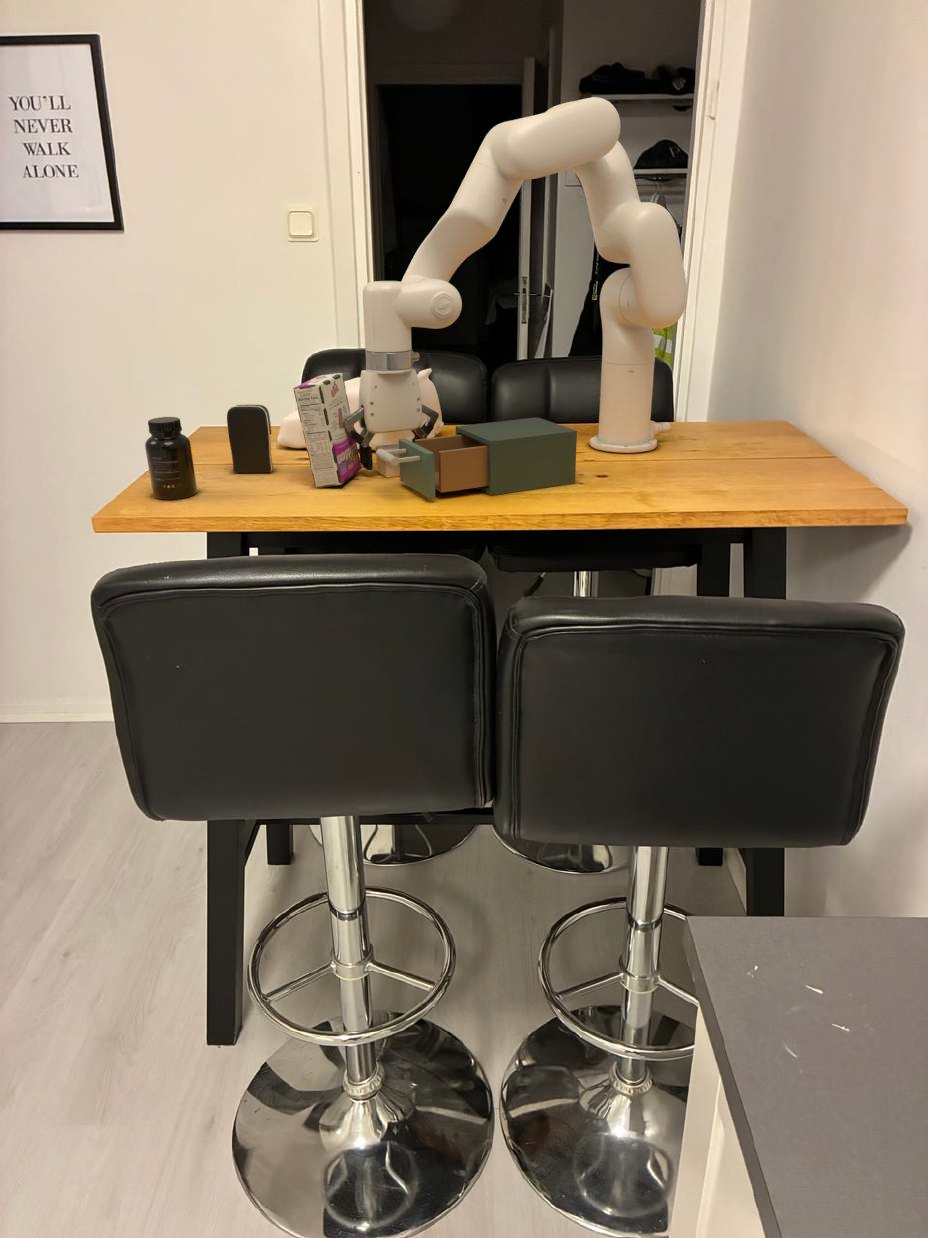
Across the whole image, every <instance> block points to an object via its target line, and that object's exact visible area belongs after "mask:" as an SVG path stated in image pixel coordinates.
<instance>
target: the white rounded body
mask: <svg viewBox="0 0 928 1238" xmlns="http://www.w3.org/2000/svg"><path fill="white" fill-rule="evenodd" d="M432 371H433V369H432V368H431V367H430V368H426V369H421V371H418V374H417V378H418V382H419V388H420V395H421V404H423V405H425V406H426V407H428V408H430V409H432V410H434V411H436V412H438V413H439V417H438V419H437V421H436V423H435V424H434V429H433V430H432V431H431V432H430V434H429V435H428V436H427V438H434V437H436V435H438V434H439V433H441V432H442V430H443V429H444V426H445V424H444V421H443V415H442V410H441V409H442V408H441V405H440V399H439V395H438V391H437V389H436V386H435V384H434V382H433V381H432V380H430V379H429V376H430V375H431V373H432ZM360 377H361V376H357V377H354V378H351V379H348V380H344V384H345V389H346V394H347V399H348V403H349V409H350V413H351V414H352V413H354V412H355V411H356V410H358V404H359V386H360ZM427 418H428V417H427V415H426V414H424V413H422V425H421V426H420V427H422V426H423V425H424V423H425V422H426V421H427ZM354 428H355V430H356V432H358V433H359V434H360V433H361V431H362V430H363V428H361V427H360V425H359V421H358V422H356V423H355V424H354ZM414 436H415V435H414V434H413V433H412V432H411V430H408V431H399V432H389V433H379V434H375V435H374V437H373V438H372V440H371V442H370V443H369V446H370V447H371V448H372V451H376V446H381V445H389V444H398V443H399V439H407V440H409V441H411V442H412V439H413V438H414ZM276 441H277V444H278V445H280V446H282V447H287V448H288V447H289V448H292V449H307V448H306V443H305V438H304V434H303V430H302V425H301V421H300V417H299V412H298V408H295V409H294V410H293V411H292V412H290V414H288V415H286V416H284V417H283V418H282V420H281V422H280V427H279V433H278V434H277V437H276ZM356 443H357V442H356ZM357 448H358V450H359V444H358V443H357Z"/></svg>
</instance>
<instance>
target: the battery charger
mask: <svg viewBox="0 0 928 1238" xmlns="http://www.w3.org/2000/svg"><path fill="white" fill-rule="evenodd" d="M270 417H271V416H270V412H269V410H268V408H267V407H266V406H265V405H263V404H236V405H234V406H231V407H230V408H229V409H228V410H227V412H226V424H227V433H228V440H229V447H230V452H231V459H232V471H233V473H242V474H243V473H245V474H247V473H248V474H249V473H250V474H254V473H255V474H257V473H258V474H259V473H260V474H261V473H271V472H272V471H273V469H274V467H273V466H274V465H273V459H272V458H273V457H272V447H271V445H272V443H271V435H272V423H271V418H270Z"/></svg>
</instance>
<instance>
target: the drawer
mask: <svg viewBox="0 0 928 1238" xmlns="http://www.w3.org/2000/svg"><path fill="white" fill-rule="evenodd" d="M488 446H489V445H486V444H484V443H482V442H480V441H477V440H475V439H473V438H470V437H468V436H466V435H463V434H460V435H456V434H453V435H444V436H434V438H426V439H417V440H415V443H413V442H411V441H409V440H407V439H399V449H397V450H389V451H384V450H383V449H378V450H377V451H376V450H375V457H376V458H377V457H379V458H380V459H382V460H384V461H385V462H387V463H389V464H390V465H392V466H397V465H398V464H399V463H400V476H399V479H400V482H401V483H403V484H405V485H407V486H409V487H410V488H412V489H413V490H415V491H416V492H418V493H420V494H421V495H423V496H425V497H426V498H435V497H436V491H438V492H440V493H441V494H442V493H449V492H457V491H464V490H469V489H470V490H471V489H477V488H478V487H485V486H488ZM393 454H399V458H397V457H395V456H393Z"/></svg>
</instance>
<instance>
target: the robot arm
mask: <svg viewBox="0 0 928 1238" xmlns="http://www.w3.org/2000/svg"><path fill="white" fill-rule="evenodd" d="M621 126H622V125H621V119H620V114H619V112H618V111H617V109H616V107H615V106H614V104H612V102H610V101H609V100H608V99H605V98H603V97H599V96H598V97H597V96H592V97H587V98H582V99H578V100H573V101H568V102H563V103H560V104H557V105H555V106H552V107H550V108H548V109H547V110H546V111H545V112H542V113H539V114H535V115H530V116H525V117H520V118H517V119H513V120H512V119H511V120H506V121H503V122H501V123H498V124H496V125H494V126H493V127H492V128H491V129H490V130H489V131H488V132H487V133H486V135H485V137H484V138H483V140H482V142H481V144H480V146H479V148H478V150H477V151H476V154H475V156H474V158H473V160H472V162H471V164H470V166H469V167H468V170H467V172H466V174H465V176H464V178H463V180H462V181H461V184H460V186H459V188H458V189H457V192H456V193H455V195H454V197H453V199H452V202H450V203H451V204H450V205H449V207H448V208H447V210H446V211H445V212H444V214H442V216H441V217H440V218H439V220H438V221H437V223H436V224H435V226H434V227H433V228H432V230H431V231H430V232H429V233H428V235H426V237H425V238H424V240H423V241H422V242H421V244H420V245H419V247H418V248H417V250H416V252H415V254H414V255H413V258H412V259H411V261H410V263H409V264H408V267H407V269H406V270H405V273H404V275H403V277H402V279H401V281H398V280H379V281H378V280H377V281H370V282H367V283H366V284H365V285H364V286H363V289H362V307H363V329H364V350H365V369H364V370H361V372H360V376H359V377H360V386H359V404H358V410H356V411H355V412H354V413H352V414H351V415H350V416H348V417H347V418H346V419H344V421H343V425H344V427H345V429H346V431H347V433H348V434H349V436H350V437H351V438H352V439H353V440H355V441H356V442H357V443H358V444H359V449H358V451H359V458H360V463H361V466H362V467H363V468H364V469H365V470H367V471H373V469H374V463H373V450H372V448H371V447H370V446H369V443H370V442H371V440H372V438H373V437H374V435H375V434H379V433H389V432H399V431H408V430H411V432H412V433H413V434H414V435H415V436H414V438H413V439H412V442H413V443H415V440H417V439H426V438H427V436H428V435H429V434H430V432H431V431H432V430H433V429H434V424H435V423H436V421H437V419H438V417H439V413H438V412H436V411H434V410H432V409H430V408H428V407H426V406H425V405H423V404H421V395H420V388H419V382H418V378H417V375H418V374H417V370H416V368H413V367H414V362H418V361H420V353H419V352H415V351H414V350H413V349H412V328H414V327H415V328H426V329H434V330H435V329H436V330H437V329H439V330H440V329H444V328H447V327H449V326H451V325H452V324H454V323H455V322H456V321H457V319H458V318H459V317H460V315H461V312H462V308H463V301H462V296H461V294H460V292H459V291H458V289H457V288H456V287H455V286H454V285H453V284H451V282H450V281H451V278H453V275H454V274H455V273H456V271H457V269H458V268H459V267H460V266H461V265H462V263H464V261H465V260H466V259H468V257H470V256H471V255H472V254H474V253H475V252H477V251H478V250H480V249H482V248H483V247H484V246H485V245H487V244H488V243H489V242H490V241H491V240H493V239H494V238H495V236H496V235H497V233H498V231H499V230H500V227H501V226H502V224H503V221H504V220H505V218H506V216H507V214H508V211H509V210H510V208H511V206H512V204H513V202H514V200H515V198H516V196H517V194H518V193H519V191H520V189H521V187H522V185H523V183H524V182H525V181H526V180H527V181H528V180H534V179H540V178H544V177H549V176H551V175H554V174H555V175H556V174H558V173H561V172H564V171H567V170H570V169H571V170H572V171H573V172H574V174H575V175H576V176H577V178H578V179H579V181H580V184H581V186H582V189H583V193H584V197H585V200H586V204H587V210H588V215H589V219H590V224H591V229H592V233H593V238H594V244H595V248H596V250H597V252H598V254H599V256H601V258H602V259H604V260H605V261H608V262H609V263H611V262H612V263H616V264H628V265H629V267H624V268H620V269H618V270H615V271H614V272H612V273H611V274H610V275H609V276H608V277H607V279H605V281H604V282H603V284H602V287H601V290H600V294H599V310H600V311H599V312H600V318H601V319H600V320H601V329H602V352H601V353H602V355H601V373H600V391H599V392H600V393H599V394H600V395H599V416H598V434H596V435H594V436H592V437H590V438H589V446H590V447H591V448H593V449H596V450H598V451H603V452H609V453H617V454H618V453H621V454H630V453H632V454H633V453H644V452H649V451H652V450H654V449H656V448H657V447H658V440H657V439H656V438H655V436H657V435H658V434H665V433H669V432H670V431H671V428H672V426H671V424H670V422H668V421H665V422H659V423H657V422H656V421H654V420H651V418H652V404H653V403H652V401H653V388H654V377H655V376H654V374H655V362H656V339H655V334H654V330H653V329H657V330H659V329H660V330H661V329H666V328H669V327H672V326H673V325H675V324H677V322H678V321H679V320H680V319H681V317H682V316H683V314H684V312H685V310H686V307H687V302H688V284H687V278H686V273H685V266H684V260H683V254H682V248H681V247H682V246H681V243H680V237H679V231H678V227H677V224H676V221H675V220H674V218H673V216H672V214H671V213H670V212H669V211H668V210H667V209H666V208H665V207H664V206H662V205H661V204H659V203H657V202H656V203H655V202H650V201H641V199H640V195H639V191H638V187H637V183H636V179H635V174H634V171H633V167H632V164H631V160H630V158H629V156H628V154H627V152H626V149H625V148H624V146H623V145H622V144H621V142H620V141H619V137H620V133H621ZM422 413H424V414H426V415H427V417H428V418H427V421H426V422H425V423H424V425H423V426H422V427H420V426H421V425H422ZM358 421H359V425H360V427H361V428H363V430H362V431H361V433H360V434H359V433H358V432H356V430H355V428H354V424H355V423H356V422H358Z"/></svg>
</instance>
